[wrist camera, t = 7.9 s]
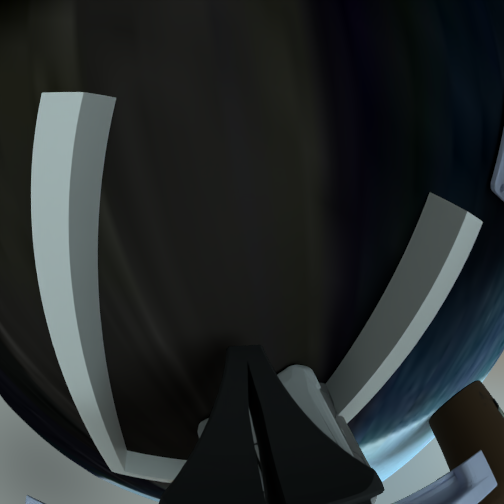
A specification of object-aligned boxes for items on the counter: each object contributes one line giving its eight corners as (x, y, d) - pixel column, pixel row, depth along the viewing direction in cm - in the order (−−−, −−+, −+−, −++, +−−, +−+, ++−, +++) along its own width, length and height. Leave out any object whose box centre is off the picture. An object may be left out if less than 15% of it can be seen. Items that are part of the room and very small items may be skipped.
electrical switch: (297, 354, 13) (360, 516, 6) (343, 374, 16) (398, 492, 8) (194, 421, 16) (211, 540, 8) (247, 432, 18) (271, 531, 10)
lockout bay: (447, 202, 10) (532, 254, 5) (266, 466, 22) (274, 508, 17) (80, 96, 7) (-33, 94, 2) (114, 451, 19) (109, 496, 14)
